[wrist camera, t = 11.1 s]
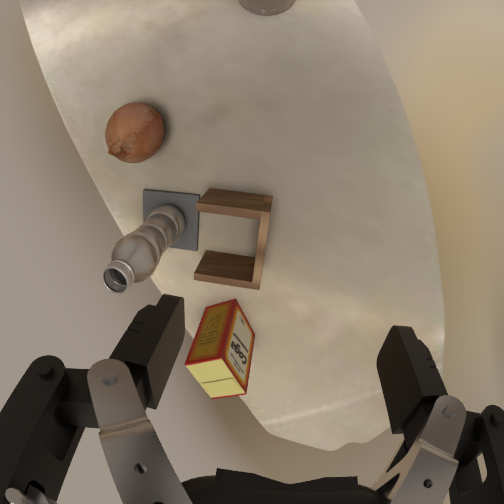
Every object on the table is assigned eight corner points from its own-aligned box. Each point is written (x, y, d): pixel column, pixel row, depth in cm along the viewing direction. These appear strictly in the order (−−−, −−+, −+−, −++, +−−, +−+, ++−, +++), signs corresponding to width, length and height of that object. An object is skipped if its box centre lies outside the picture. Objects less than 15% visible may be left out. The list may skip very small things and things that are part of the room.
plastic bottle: (146, 222, 51) (85, 281, 33) (166, 193, 48) (104, 244, 30) (174, 244, 52) (125, 313, 34) (196, 217, 50) (149, 280, 32)
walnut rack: (209, 188, 48) (196, 202, 41) (272, 196, 48) (270, 212, 40) (205, 256, 54) (193, 279, 46) (263, 264, 53) (259, 289, 46)
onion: (150, 149, 49) (119, 184, 43) (118, 110, 44) (81, 141, 38) (187, 127, 44) (154, 162, 38) (152, 81, 38) (112, 110, 32)
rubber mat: (145, 189, 49) (143, 190, 48) (200, 194, 49) (198, 195, 48) (146, 241, 54) (144, 243, 53) (197, 249, 53) (196, 251, 52)
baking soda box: (205, 307, 59) (184, 365, 44) (235, 298, 57) (220, 359, 43) (226, 341, 62) (211, 400, 48) (254, 334, 61) (246, 396, 46)
